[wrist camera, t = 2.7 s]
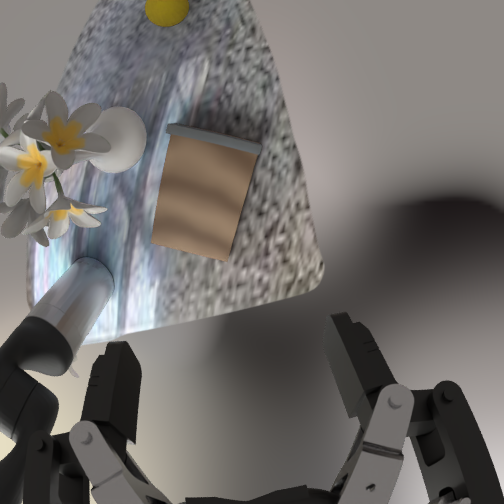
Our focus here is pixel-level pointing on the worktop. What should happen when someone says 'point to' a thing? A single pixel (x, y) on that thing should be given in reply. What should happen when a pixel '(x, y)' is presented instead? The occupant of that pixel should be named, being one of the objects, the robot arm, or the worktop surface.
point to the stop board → (202, 190)
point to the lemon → (166, 11)
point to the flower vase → (60, 160)
